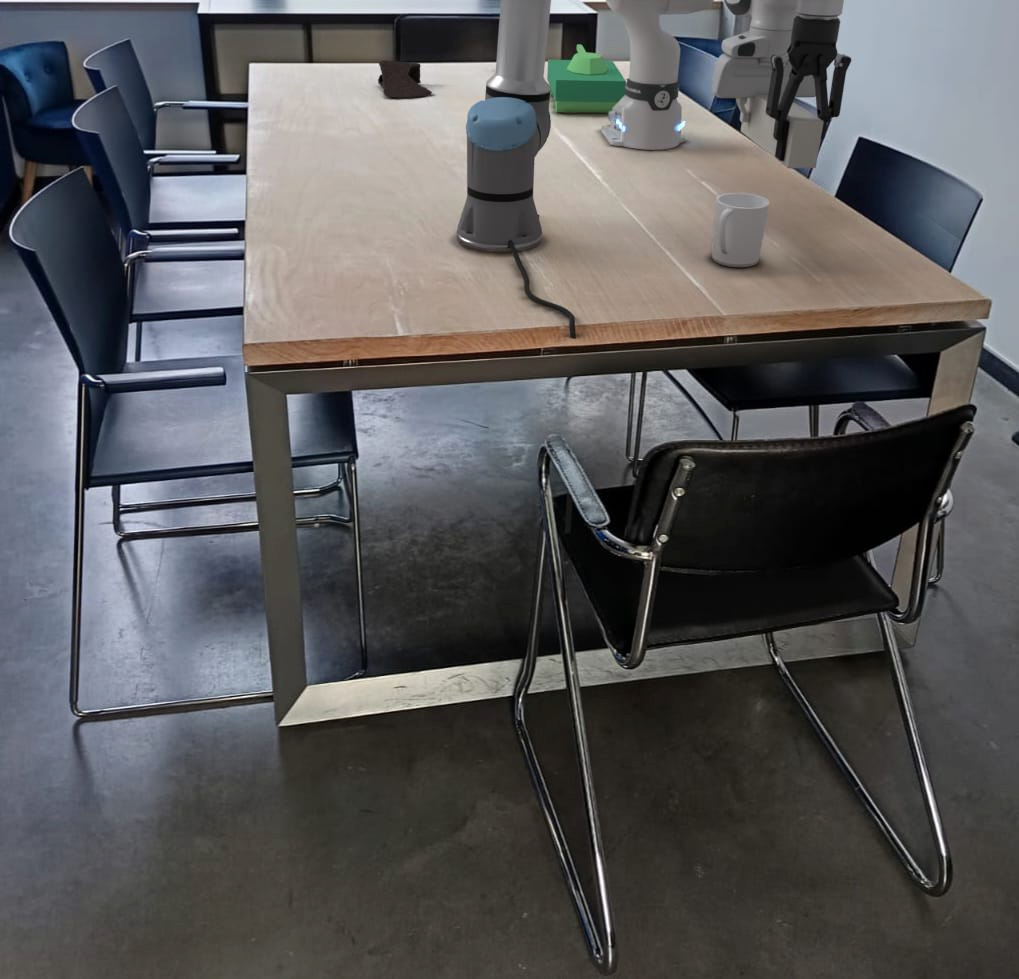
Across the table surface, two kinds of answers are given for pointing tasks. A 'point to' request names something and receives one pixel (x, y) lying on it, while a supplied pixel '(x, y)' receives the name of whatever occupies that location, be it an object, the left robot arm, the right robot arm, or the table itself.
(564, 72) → the toy tank
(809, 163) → the bar
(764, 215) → the mug
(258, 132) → the table surface
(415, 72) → the axe head
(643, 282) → the table surface
